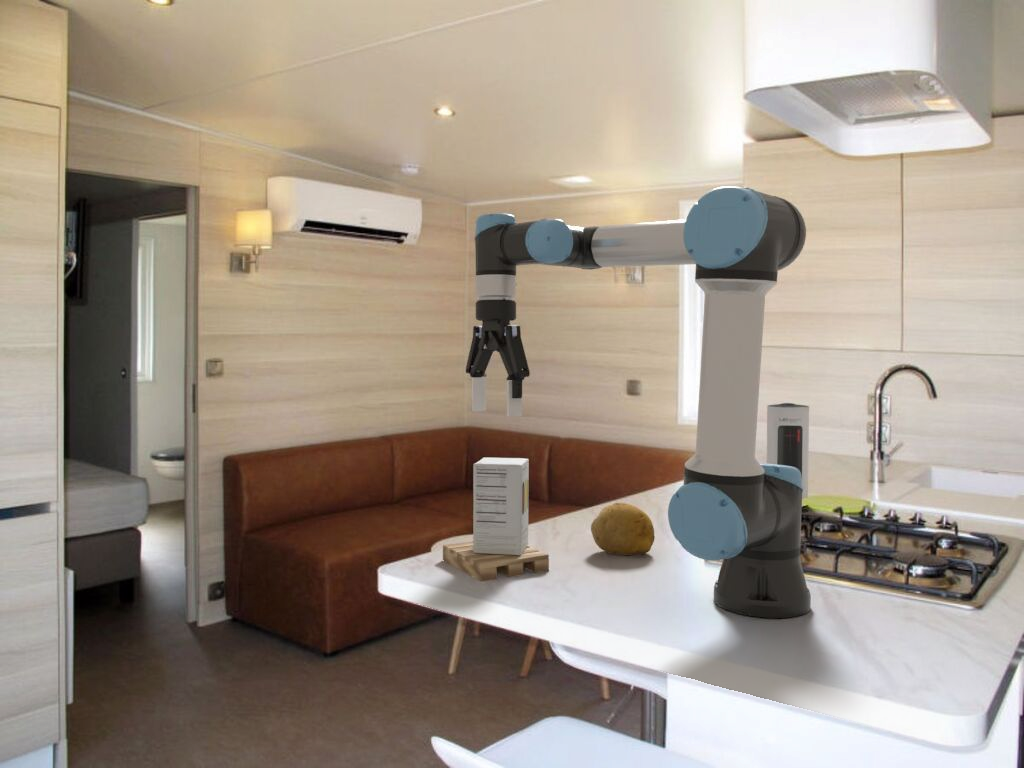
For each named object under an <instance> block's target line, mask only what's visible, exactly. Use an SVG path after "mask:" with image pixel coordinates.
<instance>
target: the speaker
mask: <svg viewBox="0 0 1024 768" xmlns="http://www.w3.org/2000/svg"><path fill="white" fill-rule="evenodd" d="M809 429H810V406H809V405H804V404H796V403H791V402H782V403H779V404H778V403H777V404H776V403H775V404H768V405H767V406H766V463H768V464H777V465H785V466H792V467H795V468H797V469H798V470H799V471H800V472H801V476H802V487H803V492H802V499H804V498H808V499H809V449H810V448H809V447H810V445H809V443H810V442H809V441H810V439H809V437H810V435H809V434H810V430H809Z"/></svg>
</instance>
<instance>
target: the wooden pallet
mask: <svg viewBox="0 0 1024 768" xmlns="http://www.w3.org/2000/svg"><path fill="white" fill-rule="evenodd" d="M549 557H550V556H549V554H548V553H546V552H544V551H540V550H538V549H536V548H534V547H531V546H529V545H527V547H526V548H525V550H524V551H523V553H522V554H521V555H503V554H483V553H473V541H472V540H471V541H464V542H457V543H450V544H443V545H442V561H443V560H444V561H443V562H445V563H447V564H448V565H451V566H453V567H454V568H456V569H458V570H460V571H462V572H464V573H465V574H467V575H469V576H471V577H472V576H473V578H474V577H475V578H474V579H476V580H478V581H480V582H487V581H493V580H497V572H498V573H500V574H501V575H503V576H506V577H508V578H513V577H518V576H523V575H524V569H526V570H528V571H530V572H532V573H534V574H537V573H543V572H544V573H545V572H549V571H550V559H549Z"/></svg>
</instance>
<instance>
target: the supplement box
mask: <svg viewBox="0 0 1024 768" xmlns="http://www.w3.org/2000/svg"><path fill="white" fill-rule="evenodd" d="M529 462H530V459H529V458H526V457H525V458H524V457H523V458H522V457H482V458H481V459H480V460H478V461H477V462H474V463H473V466H472V467H473V468H472V469H473V470H472V471H473V474H472V475H473V476H472V477H473V479H472V481H473V484H472V486H473V487H472V489H473V495H472V496H473V507H472V508H473V510H472V512H473V514H472V515H473V517H472V518H473V520H472V521H473V524H472V526H473V527H472V528H473V529H472V530H473V531H472V533H473V535H472V537H473V538H472V539H473V553H483V554H503V555H521V554H522V553H523V551H524V550H525V548H526V547H527V546H529V487H530V486H529V480H530V479H529V478H530V477H529V476H530V475H529V473H530V471H529V470H530V468H529V467H530V465H529V464H530V463H529Z"/></svg>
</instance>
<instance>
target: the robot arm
mask: <svg viewBox="0 0 1024 768" xmlns="http://www.w3.org/2000/svg"><path fill="white" fill-rule="evenodd" d="M806 227H807V226H806V223H805V219H804V217H803V214H802V213H801V212H800V210H799V209H798V208H797V207H796V205H794V203H791V202H790V201H789V200H786V199H785V198H782V197H779V196H776V195H771V194H767V193H764V192H761V191H757V190H755V189H753V188H750V187H747V186H744V187H740V186H720V187H717V188H714V189H712V190H710V191H708V192H707V193H706V192H705V194H703V195H702V196H701V197H700V198H699V199H698V201H697V202H695V203H694V204H693V205H692V207H691V208H690V210H689V212H688V214H687V216H686V218H685V219H677V220H667V221H665V220H664V221H654V222H653V221H651V222H639V223H626V224H625V223H624V224H615V225H612V224H611V225H601V226H600V225H599V226H598V225H597V226H585V227H584V226H583V227H582V226H574V225H573V226H572V225H567V224H566V223H565V221H563V220H562V219H559V218H552V219H550V218H541V219H539V220H534V221H532V220H531V221H526V222H518V223H517V219H516V217H515V215H513V214H510V213H504V212H503V213H500V212H499V213H498V212H497V213H496V212H495V213H484V214H481V215H478V217H477V218H476V221H475V235H474V245H475V280H474V281H475V285H474V287H475V288H474V289H475V290H474V291H475V297H476V298H477V299H478V300H476V302H475V320H477V321H478V322H480V321H482V323H481V324H482V325H473V328H472V329H473V330H472V340H471V344H470V348H469V353H468V358H467V362H466V366H465V373H466V374H469V376H470V378H471V411H472V412H486V411H487V373H486V370H487V368H488V366H489V363H490V361H491V357H492V356H493V354H494V352H497V353H499V356H500V359H501V360H502V363H503V367H504V368H505V370H506V373H507V377H506V417H507V418H513V417H514V418H516V417H518V418H519V417H523V381H524V380H525V378H526V377H527V378H528V377H530V374H531V371H530V369H529V364H528V360H527V357H526V352H525V348H524V344H523V341H522V337H521V336H522V335H521V325H519V324H511V322H512V321H515V320H516V319H517V301H515V300H514V299H513V298H516V297H517V284H518V283H517V280H516V279H517V278H516V276H517V266H525V265H544V266H553V267H563V268H567V267H568V268H574V269H575V268H577V269H581V270H599V269H602V268H613V267H614V268H615V267H616V268H617V267H618V268H619V267H622V268H623V267H648V266H649V267H651V266H680V265H681V266H682V265H683V266H684V265H685V266H686V265H687V266H688V265H695V273H694V275H695V277H694V282H695V284H697V286H698V287H699V288H700V289H701V290H702V291H703V293H704V300H703V301H704V302H703V306H704V307H703V319H702V321H703V322H702V338H701V356H700V358H701V359H700V374H699V387H698V388H699V391H698V393H699V394H698V404H697V405H698V406H697V407H698V408H697V410H698V411H697V422H696V423H697V424H696V438H695V439H696V443H695V453H694V454H693V455H692V456H691V457H690V458H689V459H687V460H686V461H685V462H684V467H683V469H684V471H683V484H682V485H681V486H680V487H679V488H678V489H677V490H676V491H675V493H674V494H672V496H671V498H670V500H669V503H668V508H667V518H668V519H667V520H668V524H669V528H670V530H671V533H672V534H673V537H674V538H675V540H677V541H678V543H679V544H680V546H681V547H682V548H683V549H684V550H685V551H686V552H688V553H689V554H690V555H691V556H694V557H695V558H698V559H701V560H705V561H720V560H723V561H722V563H721V566H720V569H719V573H718V576H717V577H718V578H717V580H716V581H715V582H714V586H713V602H714V603H715V604H716V605H717V606H718V607H720V608H722V609H724V610H727V611H729V612H733V613H736V614H739V615H745V616H750V617H757V618H766V619H767V618H768V619H773V618H774V619H778V618H779V619H782V618H793V617H798V616H803V615H804V614H806V613H808V612H809V611H810V610H811V605H812V604H811V603H812V602H811V600H812V597H811V595H812V593H811V592H810V589H809V588H808V587H807V586H808V585H807V582H806V576H805V573H804V569H803V565H802V561H801V543H802V541H801V539H802V538H801V537H802V535H801V534H802V511H803V510H802V508H803V507H802V492H803V487H802V476H801V472H800V471H799V470H798V469H797V468H795V467H792V466H785V465H777V464H768V463H767V462H766V463H765V462H759V461H758V460H757V459H756V446H757V445H756V444H757V443H756V442H757V441H756V440H757V430H758V429H757V428H758V415H759V414H758V410H759V397H760V395H759V394H760V383H761V363H762V351H763V350H762V349H763V335H764V319H765V304H766V295H767V294H768V292H770V291H771V290H772V289H773V288H775V286H776V285H778V284H777V283H778V273H779V271H781V270H784V269H786V267H788V266H790V265H791V264H792V263H793V262H795V261H796V259H797V258H799V256H800V254H801V252H802V251H803V249H804V246H805V243H806V237H807V228H806Z"/></svg>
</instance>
